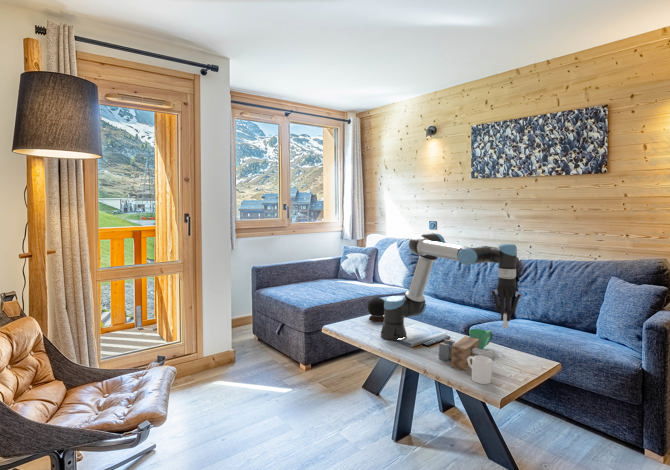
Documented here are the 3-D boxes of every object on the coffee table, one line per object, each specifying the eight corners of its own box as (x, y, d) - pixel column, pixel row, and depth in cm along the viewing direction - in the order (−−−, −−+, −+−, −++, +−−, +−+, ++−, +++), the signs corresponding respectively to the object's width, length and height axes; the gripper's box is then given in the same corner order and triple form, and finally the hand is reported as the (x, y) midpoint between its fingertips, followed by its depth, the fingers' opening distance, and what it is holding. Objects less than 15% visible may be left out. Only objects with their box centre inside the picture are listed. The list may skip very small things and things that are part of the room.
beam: (451, 366, 190) (451, 345, 189) (464, 355, 204) (465, 336, 203) (465, 370, 185) (466, 349, 185) (478, 359, 200) (478, 339, 199)
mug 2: (472, 371, 185) (473, 351, 184) (494, 381, 174) (495, 360, 174) (460, 375, 180) (461, 354, 180) (482, 385, 170) (483, 363, 169)
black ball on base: (377, 315, 276) (377, 294, 275) (390, 319, 266) (391, 298, 264) (363, 318, 267) (363, 297, 266) (377, 323, 257) (377, 301, 256)
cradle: (438, 359, 199) (439, 343, 198) (445, 354, 205) (445, 339, 205) (448, 361, 196) (448, 345, 195) (454, 356, 202) (454, 341, 201)
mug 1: (478, 354, 206) (479, 335, 205) (464, 348, 214) (464, 330, 214) (497, 349, 212) (498, 331, 212) (483, 344, 221) (484, 326, 220)
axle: (451, 350, 197) (451, 343, 197) (454, 348, 200) (454, 342, 199) (492, 361, 184) (492, 353, 184) (494, 358, 187) (494, 351, 187)
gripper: (490, 276, 182) (488, 326, 183) (520, 280, 174) (518, 332, 175) (494, 274, 188) (493, 323, 189) (524, 277, 180) (522, 328, 181)
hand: (505, 327), depth 182 cm, fingers closed
